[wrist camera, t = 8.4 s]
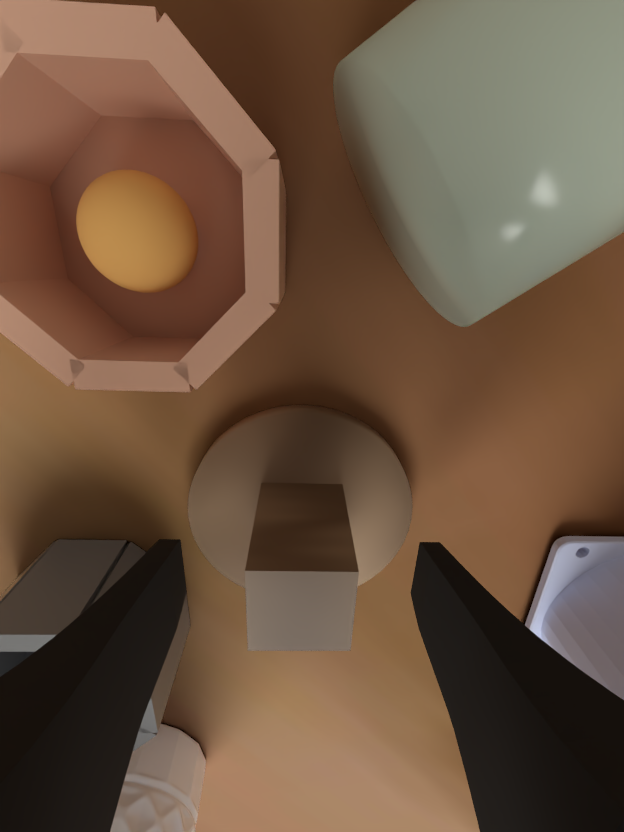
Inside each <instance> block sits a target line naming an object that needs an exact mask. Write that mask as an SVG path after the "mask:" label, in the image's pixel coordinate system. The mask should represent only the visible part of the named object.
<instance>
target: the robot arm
mask: <svg viewBox="0 0 624 832" xmlns="http://www.w3.org/2000/svg"><path fill="white" fill-rule="evenodd" d="M186 592H187V591H186V583H185V574H184V566H183V557H182V549H181V540H169V539H160V540H159V541H157V542H156V543H155V544H154V545H153V546H152V547H151V548H150V549H149V550H148V551H147V552H146V553H145V554H144V555H143V556H142V557H141V558H140V559H139V560H138V561H137V562H136V563H135V564H134V565H133V566H132V567H131V568H130V569H129V570H128V571H127V572H126V573H125V574H124V575H123V576H122V577H121V578H120V579H119V580H118V581H117V582H116V583H115V584H114V585H112V586H111V587H110V588H109V589H108V590H107V591H106V592H105V593H104V594H103V595H102V596H101V597H100V598H99V599H98V600H96V601H95V602H94V603H93V604H92V605H91V606H90V607H89V608H87V609H86V610H85V611H84V612H83V613H82V614H81V615H79V616H78V617H77V618H76V619H75V620H74V621H73V622H71V623H70V624H69V625H68V626H67V627H66V628H64V629H63V630H62V631H61V632H60V633H58V634H57V635H56V636H55V637H53V638H52V639H51V640H50V641H48V642H47V643H46V644H44V645H43V646H42V647H41V648H39V649H38V650H37V651H35V652H34V653H33V654H31V655H30V656H29V657H27V658H26V659H25V660H23V661H22V662H21V663H19V664H18V665H16V666H15V667H14V668H12V669H11V670H9V671H8V672H6V673H5V674H3V675H2V676H1V677H0V832H110V830H111V826H112V823H113V819H114V816H115V812H116V808H117V805H118V801H119V797H120V794H121V790H122V787H123V783H124V779H125V776H126V773H127V769H128V766H129V762H130V759H131V755H132V752H133V748H134V745H135V742H136V738H137V735H138V732H139V729H140V726H141V723H142V720H143V717H144V714H145V711H146V709H147V706H148V704H149V701H150V698H151V696H152V693H153V690H154V688H155V685H156V683H157V680H158V677H159V675H160V672H161V670H162V667H163V664H164V662H165V659H166V657H167V654H168V651H169V649H170V646H171V643H172V641H173V638H174V635H175V632H176V630H177V627H178V623H179V620H180V616H181V612H182V608H183V604H184V600H185V596H186ZM411 596H412V601H413V605H414V610H415V614H416V618H417V623H418V627H419V630H420V633H421V636H422V639H423V642H424V644H425V647H426V650H427V653H428V656H429V659H430V661H431V664H432V667H433V670H434V673H435V675H436V678H437V681H438V684H439V687H440V689H441V692H442V695H443V698H444V701H445V703H446V706H447V709H448V712H449V715H450V718H451V722H452V725H453V728H454V731H455V735H456V739H457V742H458V746H459V750H460V754H461V757H462V761H463V765H464V769H465V772H466V776H467V780H468V784H469V788H470V792H471V796H472V800H473V804H474V808H475V812H476V816H477V820H478V825H479V829H480V832H624V537H611V536H565V537H561V538H559V539H557V540H556V541H555V542H554V543H553V545H552V548H551V550H550V553H549V556H548V559H547V562H546V565H545V568H544V571H543V574H542V576H541V579H540V582H539V585H538V588H537V591H536V594H535V597H534V600H533V603H532V605H531V608H530V611H529V614H528V617H527V620H526V623H525V625H524V624H523V623H522V622H520V621H519V620H518V619H517V618H516V617H515V616H514V615H513V614H511V613H510V612H509V611H508V610H507V609H506V608H505V607H504V606H503V605H502V604H501V603H499V602H498V601H497V600H496V599H495V598H494V597H493V596H492V595H491V594H490V593H489V592H488V591H487V590H486V589H485V588H484V587H483V586H482V585H481V584H480V583H479V582H478V581H477V580H476V579H475V578H474V577H473V576H472V575H471V574H470V573H469V572H468V571H467V570H466V569H465V568H464V567H463V566H462V565H461V564H460V563H459V562H458V561H457V560H456V559H455V558H454V557H453V556H452V555H451V554H450V552H449V551H448V550H447V549H446V548H445V547H444V546H443V545H442V544H441V543H440V542H420V544H419V550H418V555H417V561H416V566H415V572H414V578H413V583H412V589H411Z"/></svg>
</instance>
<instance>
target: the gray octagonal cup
mask: <svg viewBox="0 0 624 832" xmlns="http://www.w3.org/2000/svg"><path fill="white" fill-rule="evenodd" d="M145 553H146V552H145V551H144V550H142V549H141V548H139V547H138V546H137V545H135V544H134V543H132V542H130V543H129V544H127V540H62V539H58V540H57V541H54V542H53V543H52V544H51V545H49V546H48V547H47V548H46V549H45V550H44V551H43V552H42V553H41V554H40V555H39V556H38V557H37V558H36V559H35V560H34V561H33V562H32V563H31V564H30V565H29V566H28V567H27V568H26V569H25V570H24V571H23V572H22V573H21V574H20V575H19V576H18V577H17V578H16V579H15V580H14V581H13V583H12V584H11V585H10V586H9V587H8V588H7V589H6V590H5V591H4V592H3V594H2V595H1V596H0V677H1V676H2V675H3V674H5V673H6V672H8V671H9V670H11V669H12V668H14V667H15V666H16V665H18V664H19V663H21V662H22V661H23V660H25V659H26V658H27V657H29V656H30V655H31V654H33V653H34V652H35V651H37V650H38V649H39V648H41V647H42V646H43V645H44V644H46V643H47V642H48V641H50V640H51V639H52V638H53V637H55V636H56V635H57V634H58V633H60V632H61V631H62V630H63V629H64V628H66V627H67V626H68V625H69V624H70V623H71V622H73V621H74V620H75V619H76V618H77V617H78V616H79V615H81V614H82V613H83V612H84V611H85V610H86V609H87V608H89V607H90V606H91V605H92V604H93V603H94V602H95V601H96V600H98V599H99V598H100V597H101V596H102V595H103V594H104V593H105V592H106V591H107V590H108V589H109V588H110V587H111V586H112V585H114V584H115V583H116V582H117V581H118V580H119V579H120V578H121V577H122V576H123V575H124V574H125V573H126V572H127V571H128V570H129V569H130V568H131V567H132V566H133V565H134V564H135V563H136V562H137V561H138V560H139V559H140V558H141V557H142V556H143V555H144V554H145ZM189 630H190V618H189V610H188V601H187V593H186V596H185V600H184V604H183V608H182V612H181V616H180V620H179V623H178V627H177V630H176V632H175V635H174V638H173V641H172V643H171V646H170V649H169V651H168V654H167V657H166V659H165V662H164V664H163V667H162V670H161V672H160V675H159V677H158V680H157V683H156V685H155V688H154V690H153V693H152V696H151V698H150V701H149V704H148V706H147V709H146V711H145V714H144V717H143V720H142V723H141V726H140V729H139V732H138V735H137V738H136V742H135V745H134V748H133V751H135V750H136V749H137V748H139V747H140V746H142V745H143V744H145V743H146V742H148V741H149V740H151V739H152V738H153V737H155V736H156V735H157V733H158V731H159V727H160V724H161V721H162V718H163V714H164V711H165V708H166V705H167V701H168V698H169V695H170V692H171V688H172V685H173V682H174V679H175V675H176V672H177V669H178V665H179V662H180V659H181V656H182V652H183V649H184V646H185V643H186V639H187V636H188V633H189Z"/></svg>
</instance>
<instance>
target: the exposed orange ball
mask: <svg viewBox="0 0 624 832" xmlns="http://www.w3.org/2000/svg"><path fill="white" fill-rule="evenodd" d="M76 225H77V232H78V236H79V240H80V243H81V245H82V247H83V249H84V252H85V254H86V255H87V257H88V258H89V260H90V261H91V263H92V264H93V265H94V267H95V268H96V269H97V270H98V271H99V272H100V273H101V274H103V275H104V276H105V277H106V278H108V279H109V280H110V281H112V282H113V283H115V284H117V285H119V286H121V287H123V288H126V289H129V290H132V291H136V292H143V293H155V292H161V291H164V290H167V289H170V288H172V287H174V286H176V285H177V284H178V283H180V282H181V281H182V280H183V279H184V278H185V277H186V276H187V275H188V273H189V272H190V271H191V269H192V267H193V265H194V263H195V260H196V257H197V252H198V233H197V228H196V224H195V221H194V218H193V216H192V214H191V212H190V210H189V208H188V206H187V205H186V203H185V202H184V200H183V199H182V198H181V196H180V195H179V194H178V193H177V192H176V191H175V190H174V189H173V188H172V187H170V186H169V185H168V184H167V183H165V182H164V181H162V180H161V179H159V178H157V177H155V176H153V175H150V174H148V173H145V172H141V171H137V170H116V171H111V172H108V173H106V174H103V175H102V176H100V177H98V178H96V179H95V180H94V181H93V182H91V183H90V185H89V186H88V187H87V188H86V190H85V191H84V193H83V194H82V197H81V199H80V201H79V204H78V208H77V215H76Z"/></svg>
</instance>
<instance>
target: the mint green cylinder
mask: <svg viewBox="0 0 624 832" xmlns="http://www.w3.org/2000/svg"><path fill="white" fill-rule="evenodd" d="M333 95H334V104H335V110H336V115H337V121H338V125H339V129H340V133H341V137H342V140H343V143H344V147H345V150H346V153H347V156H348V159H349V162H350V165H351V167H352V170H353V173H354V175H355V178H356V180H357V183H358V185H359V188H360V190H361V192H362V195H363V197H364V199H365V202H366V204H367V206H368V208H369V210H370V212H371V214H372V216H373V218H374V220H375V222H376V224H377V226H378V228H379V230H380V232H381V234H382V236H383V238H384V239H385V241H386V243H387V245H388V246H389V248H390V250H391V252H392V253H393V255H394V256H395V258H396V260H397V261H398V263H399V264H400V266H401V268H402V269H403V271H404V272H405V274H406V275H407V276H408V278H409V279H410V281H411V282H412V283H413V285H414V286H415V287H416V289H417V290H418V291H419V293H420V294H421V295H422V296H423V297H424V299H425V300H426V301H427V302H428V303H429V304H430V305H431V306H432V307H433V308H434V309H435V310H436V311H437V312H438V313H439V314H440V315H441V316H442V317H444V318H445V319H446V320H448V321H449V322H451V323H453V324H455V325H457V326H461V327H468V326H470V325H472V324H473V323H475V322H477V321H478V320H480V319H482V318H483V317H485V316H487V315H488V314H490V313H492V312H493V311H495V310H496V309H498V308H500V307H501V306H503V305H505V304H506V303H508V302H510V301H511V300H513V299H515V298H516V297H518V296H520V295H521V294H523V293H524V292H526V291H528V290H529V289H531V288H533V287H534V286H536V285H538V284H539V283H541V282H543V281H544V280H546V279H547V278H549V277H551V276H552V275H554V274H556V273H557V272H559V271H561V270H562V269H564V268H566V267H567V266H569V265H571V264H572V263H574V262H575V261H577V260H579V259H580V258H582V257H584V256H585V255H587V254H589V253H590V252H592V251H594V250H595V249H597V248H599V247H600V246H602V245H603V244H605V243H607V242H608V241H610V240H612V239H613V238H615V237H617V236H618V235H620V234H622V233H623V232H624V0H415V1H414V2H413V3H412V4H411V5H409V6H408V7H407V8H406V9H404V10H403V11H402V12H401V13H399V14H398V15H397V16H396V17H394V18H393V19H392V20H391V21H389V22H388V23H387V24H386V25H384V26H383V27H382V28H381V29H379V30H378V31H377V32H376V33H374V34H373V35H372V36H371V37H370V38H368V39H367V40H366V41H365V42H363V43H362V44H361V45H360V46H358V47H357V48H356V49H355V50H353V51H352V52H351V53H350V54H348V55H347V56H346V57H345V58H343V59H342V60H341V61H340V62H339V64H338V65H337V66H336V69H335V73H334V80H333Z"/></svg>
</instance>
